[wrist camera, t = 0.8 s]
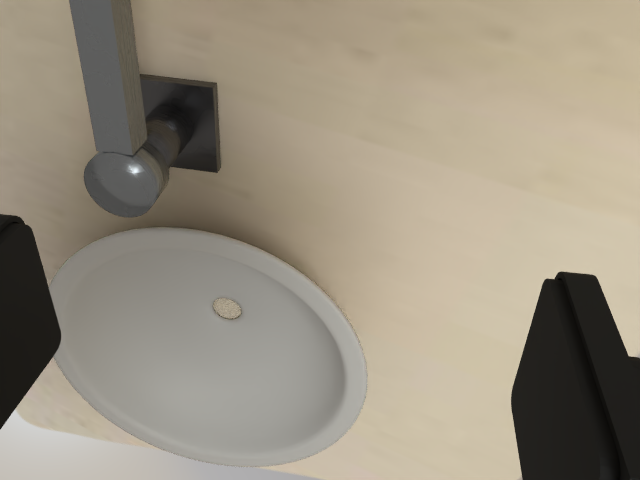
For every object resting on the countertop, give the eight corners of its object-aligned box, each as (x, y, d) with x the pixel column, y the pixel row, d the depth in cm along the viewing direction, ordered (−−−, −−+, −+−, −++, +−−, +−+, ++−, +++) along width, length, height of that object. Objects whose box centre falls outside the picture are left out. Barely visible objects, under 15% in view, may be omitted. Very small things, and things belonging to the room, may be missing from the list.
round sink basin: (191, 425, 59) (167, 485, 54) (26, 236, 48) (-25, 289, 43) (422, 374, 50) (420, 441, 44) (282, 128, 39) (258, 178, 33)
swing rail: (173, 198, 36) (156, 224, 34) (110, 190, 36) (88, 215, 34) (136, -165, 25) (106, -163, 23) (46, -172, 26) (8, -170, 23)
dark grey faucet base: (125, 72, 38) (80, 109, 33) (216, 83, 38) (184, 122, 33) (137, 156, 42) (97, 201, 37) (220, 167, 41) (191, 214, 36)
